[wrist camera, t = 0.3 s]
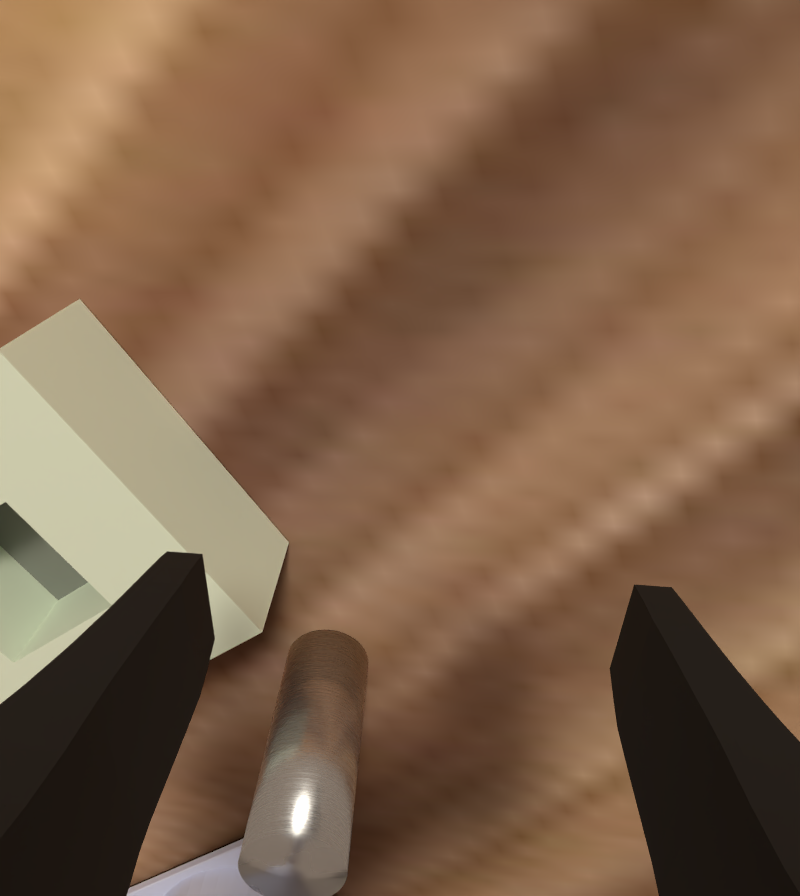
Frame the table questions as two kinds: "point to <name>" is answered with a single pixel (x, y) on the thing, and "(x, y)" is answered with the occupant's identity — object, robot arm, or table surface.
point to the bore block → (109, 498)
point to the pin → (308, 772)
